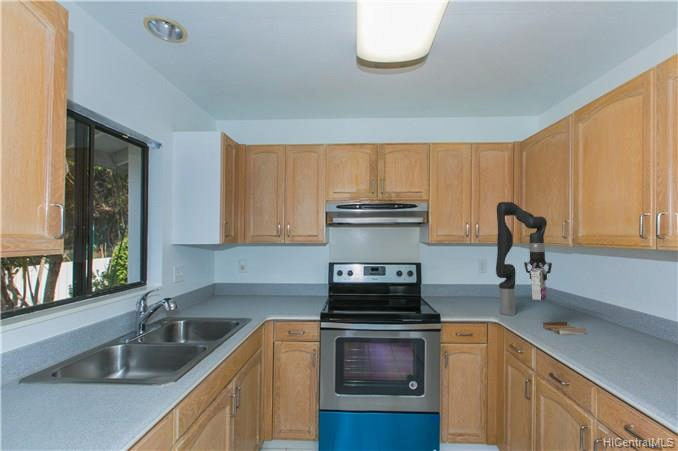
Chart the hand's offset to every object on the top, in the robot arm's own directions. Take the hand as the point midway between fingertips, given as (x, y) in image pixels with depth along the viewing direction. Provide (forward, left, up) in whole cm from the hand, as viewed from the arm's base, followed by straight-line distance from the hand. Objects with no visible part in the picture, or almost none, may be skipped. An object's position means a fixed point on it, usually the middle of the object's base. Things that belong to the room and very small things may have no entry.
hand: (538, 280), depth 185 cm
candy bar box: (0, 0, -11) cm, 11 cm away
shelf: (+7, +9, -27) cm, 29 cm away
